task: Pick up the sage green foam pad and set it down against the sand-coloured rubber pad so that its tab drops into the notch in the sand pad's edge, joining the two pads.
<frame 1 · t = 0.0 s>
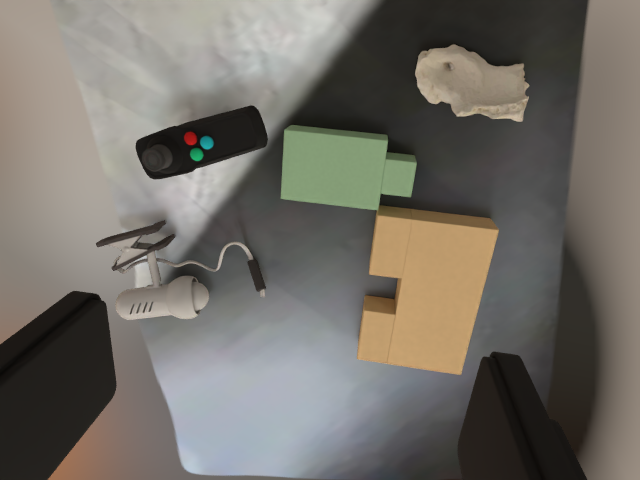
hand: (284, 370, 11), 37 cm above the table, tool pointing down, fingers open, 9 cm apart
controller: (226, 132, 46), on the table
coral: (469, 83, 41), on the table
sand pad: (419, 284, 50), on the table
green pad: (335, 163, 46), on the table
clip-on lamp: (194, 261, 53), on the table
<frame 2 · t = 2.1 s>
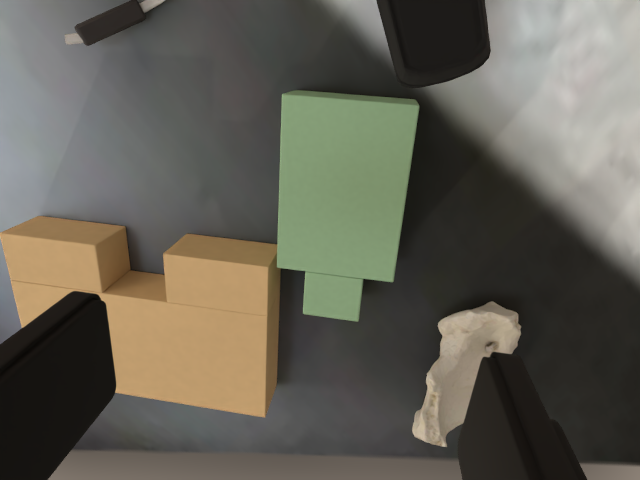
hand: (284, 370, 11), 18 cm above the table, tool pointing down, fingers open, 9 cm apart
coral: (457, 355, 31), on the table
sand pad: (162, 303, 33), on the table
green pad: (346, 178, 27), on the table
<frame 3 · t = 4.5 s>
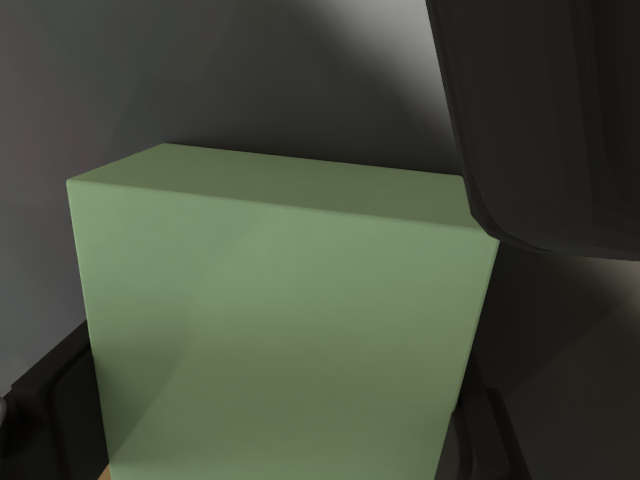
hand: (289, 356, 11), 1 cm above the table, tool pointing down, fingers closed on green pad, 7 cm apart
green pad: (295, 338, 12), on the table, touching gripper
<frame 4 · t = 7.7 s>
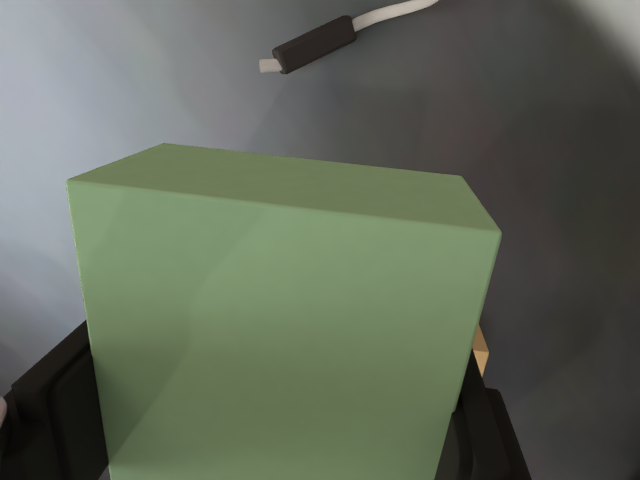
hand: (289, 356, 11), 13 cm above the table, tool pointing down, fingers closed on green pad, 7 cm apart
sand pad: (308, 374, 27), on the table
green pad: (295, 338, 12), point 12 cm above the table, touching gripper
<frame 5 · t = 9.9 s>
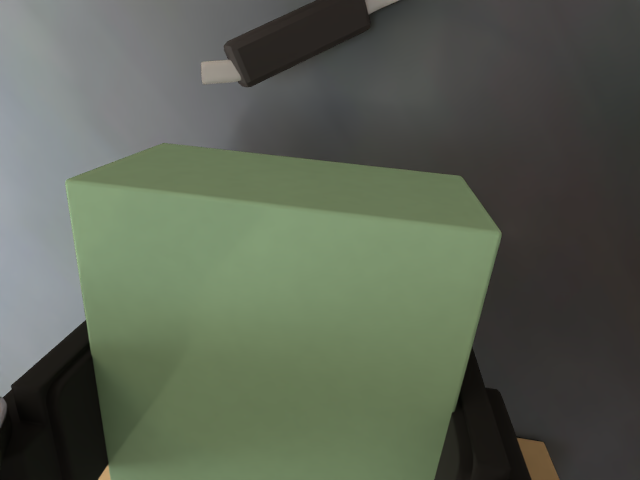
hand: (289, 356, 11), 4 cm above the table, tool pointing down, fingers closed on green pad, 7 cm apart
green pad: (294, 338, 12), point 3 cm above the table, touching gripper
when the fingers open (1 cm above the table, at t = 11.4 s): green pad stays where it is, on the table.
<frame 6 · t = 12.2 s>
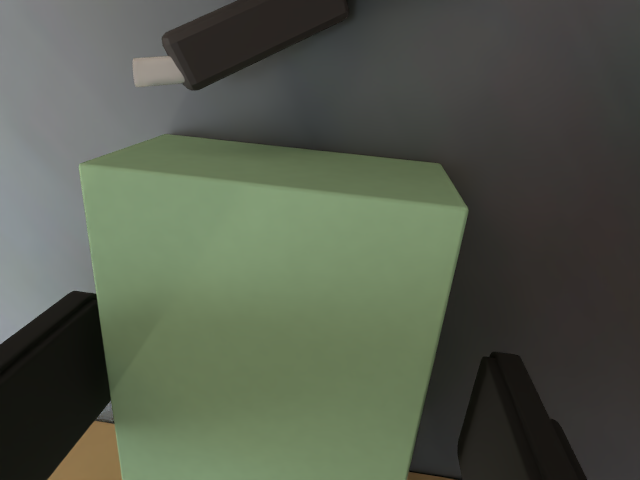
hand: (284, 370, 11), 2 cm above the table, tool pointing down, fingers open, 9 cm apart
green pad: (288, 318, 13), on the table
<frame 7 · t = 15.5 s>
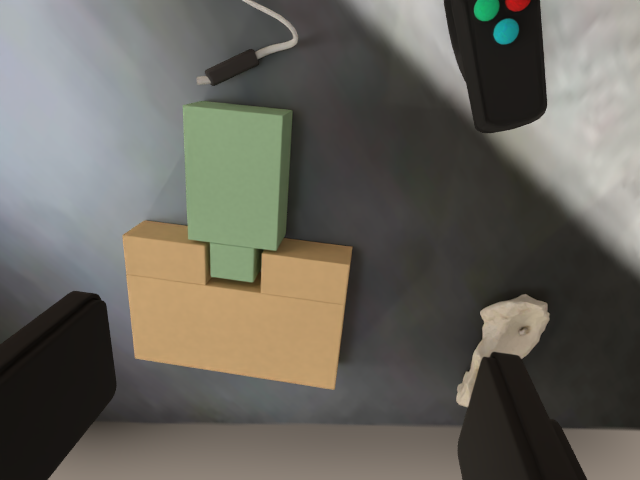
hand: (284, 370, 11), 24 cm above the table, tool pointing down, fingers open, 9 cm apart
controller: (471, 22, 29), on the table
coral: (493, 338, 37), on the table
sand pad: (245, 294, 39), on the table
green pad: (245, 170, 34), on the table
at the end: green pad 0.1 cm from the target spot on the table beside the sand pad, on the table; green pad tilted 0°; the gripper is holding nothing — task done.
